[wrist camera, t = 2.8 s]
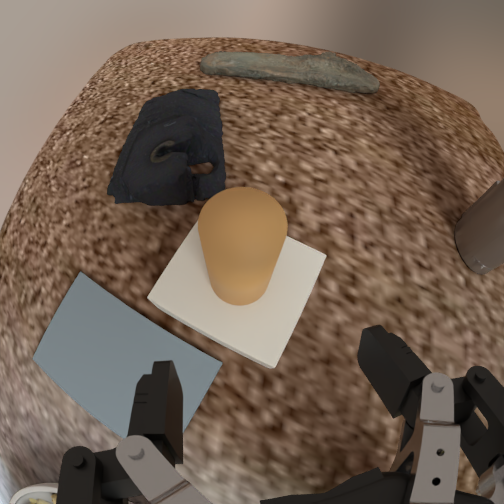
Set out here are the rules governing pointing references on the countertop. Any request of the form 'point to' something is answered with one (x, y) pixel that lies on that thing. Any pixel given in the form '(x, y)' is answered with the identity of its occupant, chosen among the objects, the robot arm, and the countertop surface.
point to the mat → (115, 355)
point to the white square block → (234, 316)
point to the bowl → (37, 494)
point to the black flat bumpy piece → (172, 151)
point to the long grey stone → (293, 69)
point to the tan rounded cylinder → (241, 242)
